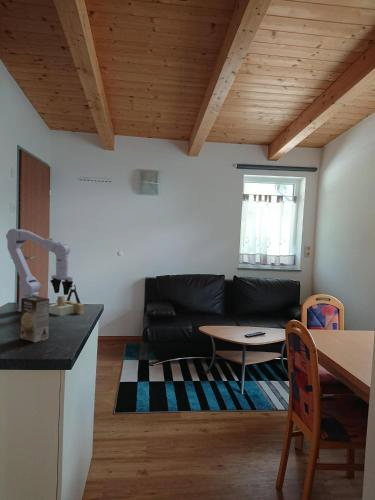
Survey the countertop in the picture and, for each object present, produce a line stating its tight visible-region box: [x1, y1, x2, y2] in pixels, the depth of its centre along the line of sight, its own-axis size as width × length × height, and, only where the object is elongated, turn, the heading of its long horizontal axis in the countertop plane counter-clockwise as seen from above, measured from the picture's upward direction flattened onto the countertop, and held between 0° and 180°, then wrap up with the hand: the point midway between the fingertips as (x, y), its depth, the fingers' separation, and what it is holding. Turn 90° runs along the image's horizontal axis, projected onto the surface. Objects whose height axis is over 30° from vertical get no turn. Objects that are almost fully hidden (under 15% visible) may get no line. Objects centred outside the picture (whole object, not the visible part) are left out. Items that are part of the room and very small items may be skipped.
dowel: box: [57, 295, 66, 307], centre depth 167 cm, size 4×4×8 cm
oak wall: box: [56, 299, 85, 315], centre depth 171 cm, size 20×2×5 cm, turn 58°
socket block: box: [49, 303, 75, 317], centre depth 167 cm, size 10×8×4 cm
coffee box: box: [20, 295, 50, 343], centre depth 125 cm, size 9×6×16 cm
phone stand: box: [65, 284, 82, 304], centre depth 183 cm, size 9×6×12 cm, turn 109°
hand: (61, 293), depth 166 cm, fingers open, 7 cm apart
